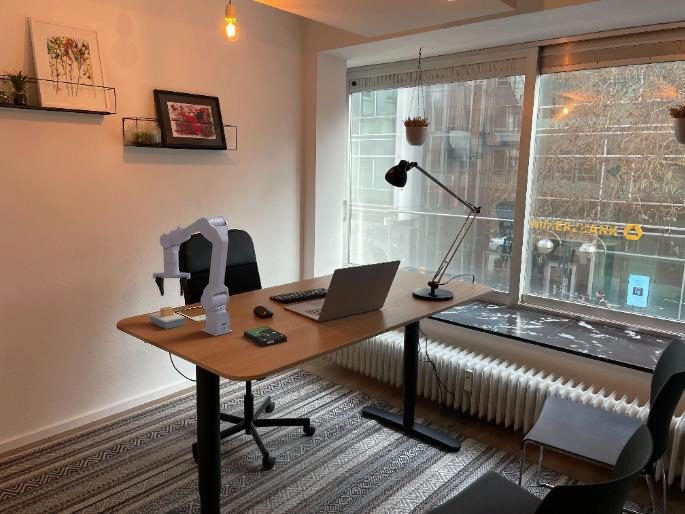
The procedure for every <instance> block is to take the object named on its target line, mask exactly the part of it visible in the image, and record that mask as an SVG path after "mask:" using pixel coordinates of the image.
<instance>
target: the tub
mask: <svg viewBox="0 0 685 514" xmlns="http://www.w3.org/2000/svg"><path fill="white" fill-rule="evenodd" d="M149 322H152V323H154V324H156V325H158V326H157V327H159V326H160V327H159V328H161V327H162V328H161V329H163V328H165V329H167V330H170V329H169V328H171V329H174V328H173V327H176V328H179V327H178V326H180V327H183V326H182V325H184V326H185V318H184V319H179V320H175V321H170V322H163V321H161V320H158V319H156V318H154V317H151V316H149ZM152 323H151V324H152ZM154 324H153V325H154ZM156 325H155V326H156ZM165 329H164V330H165Z"/></svg>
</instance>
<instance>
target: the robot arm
mask: <svg viewBox="0 0 685 514" xmlns="http://www.w3.org/2000/svg"><path fill="white" fill-rule="evenodd" d="M198 232H199V233H200V234H201V235H202V236H203V237H204V238H205V239H206V240H207V241H208V242H211V244H212V250H211V251H212V252H211V260H210V267H209V268H210V269H209V280H208V284H207V285H206V287H204V289H203V293H202V294H201V297H200V303H201V306H203V307H202V308H203V310H205V314H206V320H205V328H201V329H200V331H201V332H204V333H207V334H210V335H212V336H217V337H218V336H221V335H225V334H228V333H232V332H233V330H232V329H231V316H230V313H229V312H227V311H226V308H227V306H228V304H229V301H230V295H229V288H228V287H227V286H226V285H225V276H226V267H227V258H228V250H229V249H228V247H229V237H228V236H229V235H228V233H229V223H228V221H227V220H226V219H225V217H224V216H221V215H218V216H211V217H200V218H198V219H196V220H195V221H194V222H192V223H191V224H189V225H188V226H184V225H183V226H182V225H178V226H177V227H176V228H175V229H173V230H170V231H169V232H168V233H165V232H164V233H162V234H161V235H160V237H159V244H160V247H162V250H163V271H162V272H153V273H152V279H154V282H155V283H156V286H157V287H158V289H159V292H160V296H161V297H163V296H164V295H165V287H164V285H165V284H164V283H165V279H179V292H180V293H179V296H180V297H182V296H184V291H185V287H186V285H187V282H188V280H190V279H191V273H190V272H179V271H180V270H179V269H180V267H179V263H180V262H179V261H180V260H179V251H180V246H181V244H182V243H184V242H186V241H188V240H190V239H191V237H192V236H191V235H194V234H195V233H198Z"/></svg>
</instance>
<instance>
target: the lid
mask: <svg viewBox="0 0 685 514" xmlns="http://www.w3.org/2000/svg"><path fill="white" fill-rule="evenodd" d="M159 310H160V311H159V312H154V313H149V314H148V315H149V317H150V316H151V317H154V318H156V319H158V320H161V321H163V322H170V321H175V320H179V319H184V320H185V319H186V317H184V316H182V315H180V314H177V313H175V312H174V307H171V306H165V307H160V309H159Z"/></svg>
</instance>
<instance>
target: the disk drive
mask: <svg viewBox="0 0 685 514" xmlns="http://www.w3.org/2000/svg"><path fill="white" fill-rule="evenodd" d="M244 336H245V337H244ZM243 337H244V338H246V339H248V340H250V341H252V342H253V341H254V343H255V342H256V343H255V344H257V343H258V344H257V345H259V346H260V347H263V348H264V347H265V346H266V347H270V346H274V344H275V345H279V344H283V342H284V343H287V342H288V336H287V335H285V334H283V333H282V332H279V331H278V330H275V329H273V328H272V327H269V326H267V325H266V326H260V327H254V328H253V329H249V330H247V329H245V330H244V331H243ZM278 343H279V344H278ZM266 347H265V348H266Z"/></svg>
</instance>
